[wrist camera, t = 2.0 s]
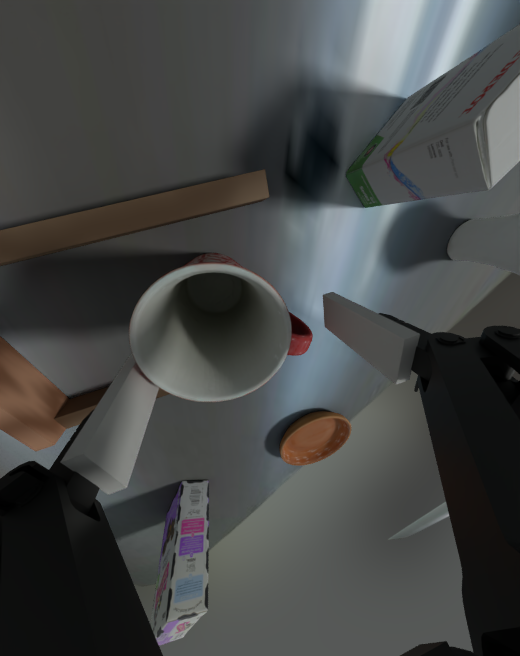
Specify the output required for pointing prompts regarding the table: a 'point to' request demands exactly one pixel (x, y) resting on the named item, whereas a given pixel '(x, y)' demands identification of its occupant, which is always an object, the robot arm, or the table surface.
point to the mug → (213, 330)
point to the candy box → (183, 564)
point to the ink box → (448, 133)
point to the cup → (488, 242)
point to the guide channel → (78, 230)
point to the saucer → (314, 437)
